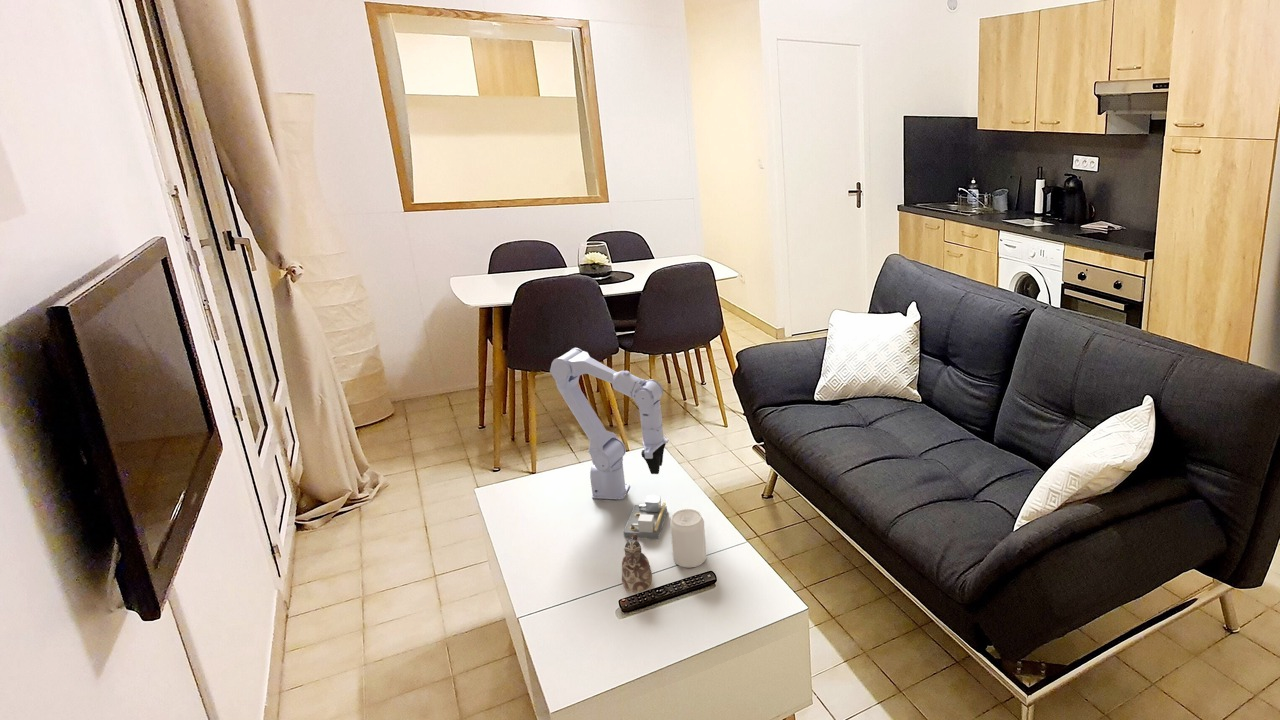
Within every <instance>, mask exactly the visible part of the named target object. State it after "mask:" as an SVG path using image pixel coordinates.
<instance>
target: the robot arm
mask: <svg viewBox="0 0 1280 720" xmlns="http://www.w3.org/2000/svg"><path fill="white" fill-rule="evenodd" d="M549 373H550V374H551V377H552V378H553V379H554V381H555V384H556V388H557V391H558V392H559V394H560V395H561V397H562V399H563V400H564V402H565V403H566V405H567V406H568V408H569V409H570V412H571V413H572V414H573V416H574V418H575V419H576V421H577V422H578V424H579V426H580V428H581V429H582V431H583V432H584V433H585V435H586V437H587V438H588V441H589V445H588V451H587V452H588V453H589V455H590V458H591V463H592V465H591V468H590V472H589V474H590V475H589V479H590V485H591V486H590V488H591V493H592V496H591V498H592V499H603V500H605V499H606V500H624V499H625V497H626V494H627V492H628V491H629V488H630V483H626V481H625V472H624V464H623V463H624V462H623V461H624V456H625V455H626V452H627V448H626V445H625V443H624V442H623V441H622V440H621V439H620V438H618V437H617V435H616V433H614V432H612V431H609V430H607V429H606V428H605V426H604V425H603V423H602V422H601V420H600V418H599V417H598V415H597V413H596V411H595V410H594V407H593V406H592V405H591V403H590V402H589V401H588V399H587V397H586V395H585V394H584V393H583V391H582V389H581V388H580V386H579V380H580V376H582V375H586V374H587V375H590V376H591V377H593V378H594V377H595V378H597V379H600V380H602V381H605V382H607V383H610V384H611V386H612V389H614V391H617V392H619V393H621V394H623V395H625V396H627V397H629V398H631V399H633V400H634V403H635V404H636V405H637V407H638V411H639V419H640V425H641V434H642V435H641V436H642V446H643V449H642V450H641V457H642V458H643V459H644V460H645V462H646V464H647V467H648V470H649V472H650V474H651V475H659V474H660V467H662V465H663V462H664V461H663V460H664V451H665V447H666V444H668V442H669V438H668V437H665V436H664V427H663V426H664V425H663V418H662V416H663V415H662V407H661V398H662V396H663V395H664V389H663V387H662V385H661V383H659V382H658V381H657V380H655V379H654V378H653V379H652V378H651V379H644V378H640V377H638V376H636V375H634V374H632V373H631V372H630V371H629V370H620V371H616V370H614V369H612V368H611V367H609V366H607V365H606V364H604V363H602V362H600V361H598V360H596V359H594V358H593V357H591V356H590V354H589V352H588V351H585V350H582V349H581V348H578V347H573V348H571V349H570V350H569V351H567V352H565V353H564V354H562V355H561V356H559V357H556V358H554V359H553V360H552V362H551V365H550V368H549Z"/></svg>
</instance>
